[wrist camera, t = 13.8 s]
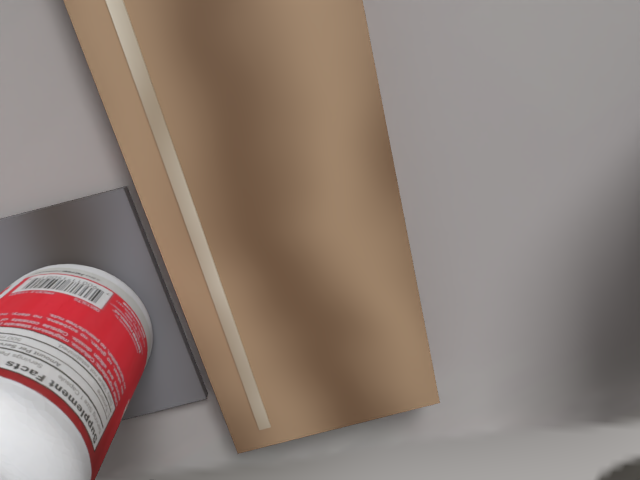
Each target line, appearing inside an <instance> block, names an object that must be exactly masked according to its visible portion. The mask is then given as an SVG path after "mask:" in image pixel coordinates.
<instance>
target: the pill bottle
mask: <svg viewBox="0 0 640 480" xmlns="http://www.w3.org/2000/svg"><path fill="white" fill-rule="evenodd" d="M152 343H153V331H152V324H151V321H150V317H149V314H148V312H147V310H146V308H145V306H144V304H143V303H142V301H141V300H140V298H139V297H138V296H137V295H136V294H135V292H134V291H133V290H132V289H131V288H130V287H128V286H127V285H126V284H125V283H124V282H122V281H121V280H119V279H118V278H116V277H115V276H113V275H111V274H109V273H107V272H105V271H103V270H100V269H97V268H93V267H89V266H84V265H76V264H58V265H51V266H46V267H43V268H40V269H37V270H34V271H32V272H30V273H28V274H26V275H24V276H22V277H21V278H19V279H18V280H16V281H15V282H13V283H12V284H11V285H9V286H8V287H7V288H6V289H4V290H3V291H2V292H1V293H0V480H95V478H96V476H97V473H98V471H99V469H100V467H101V464H102V462H103V460H104V458H105V455H106V453H107V451H108V449H109V446H110V444H111V442H112V440H113V438H114V435H115V433H116V431H117V429H118V427H119V424H120V422H121V419H122V417H123V415H124V413H125V411H126V409H127V406H128V404H129V402H130V400H131V398H132V395H133V393H134V391H135V389H136V387H137V384H138V382H139V380H140V378H141V376H142V373H143V371H144V369H145V367H146V364H147V362H148V359H149V357H150V354H151V349H152Z"/></svg>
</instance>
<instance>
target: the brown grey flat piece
mask: <svg viewBox="0 0 640 480" xmlns="http://www.w3.org/2000/svg"><path fill="white" fill-rule="evenodd" d="M63 1H64V3H65V6H66V9H67V11H68V14H69V16H70V19H71V22H72V24H73V27H74V29H75V32H76V35H77V37H78V40H79V42H80V45H81V48H82V50H83V53H84V55H85V58H86V61H87V63H88V66H89V68H90V71H91V73H92V76H93V79H94V81H95V84H96V86H97V89H98V92H99V94H100V97H101V99H102V102H103V105H104V107H105V110H106V112H107V115H108V118H109V120H110V123H111V125H112V128H113V131H114V133H115V136H116V138H117V141H118V144H119V146H120V149H121V151H122V154H123V157H124V159H125V162H126V164H127V167H128V170H129V172H130V175H131V177H132V180H133V183H134V185H135V188H136V190H137V193H138V195H139V198H140V201H141V203H142V206H143V208H144V211H145V214H146V216H147V219H148V221H149V224H150V227H151V229H152V232H153V234H154V237H155V240H156V242H157V245H158V247H159V250H160V253H161V255H162V258H163V260H164V263H165V266H166V268H167V271H168V273H169V276H170V279H171V281H172V284H173V286H174V289H175V292H176V294H177V297H178V299H179V302H180V304H181V307H182V310H183V312H184V315H185V317H186V320H187V323H188V325H189V328H190V330H191V333H192V336H193V338H194V341H195V343H196V346H197V349H198V351H199V354H200V356H201V359H202V362H203V364H204V367H205V369H206V372H207V375H208V377H209V380H210V382H211V385H212V388H213V390H214V393H215V395H216V398H217V401H218V403H219V406H220V408H221V411H222V413H223V416H224V419H225V421H226V424H227V426H228V429H229V432H230V434H231V437H232V439H233V442H234V445H235V447H236V450H237V452H238V454H239V453H243V452H246V451H250V450H254V449H258V448H262V447H266V446H270V445H274V444H278V443H282V442H286V441H290V440H294V439H298V438H302V437H306V436H310V435H314V434H318V433H322V432H326V431H330V430H334V429H338V428H342V427H346V426H350V425H354V424H358V423H362V422H366V421H370V420H374V419H378V418H382V417H385V416H389V415H393V414H397V413H401V412H405V411H409V410H413V409H417V408H421V407H425V406H429V405H433V404H437V403H440V401H439V396H438V391H437V386H436V381H435V375H434V370H433V365H432V360H431V355H430V349H429V344H428V339H427V334H426V329H425V323H424V318H423V313H422V308H421V303H420V297H419V292H418V287H417V282H416V277H415V271H414V266H413V261H412V256H411V251H410V245H409V240H408V235H407V230H406V225H405V219H404V214H403V209H402V204H401V199H400V193H399V188H398V183H397V178H396V173H395V167H394V162H393V157H392V152H391V147H390V141H389V136H388V131H387V126H386V121H385V115H384V110H383V105H382V100H381V95H380V89H379V84H378V79H377V74H376V69H375V63H374V58H373V53H372V48H371V43H370V37H369V32H368V27H367V22H366V17H365V11H364V6H363V1H362V0H63ZM58 264H76V265H84V266H89V267H93V268H97V269H100V270H103V271H105V272H107V273H109V274H111V275H113V276H115V277H116V278H118V279H119V280H121V281H122V282H124V283H125V284H126V285H127V286H128V287H130V288H131V289H132V290H133V291H134V292H135V294H136V295H137V296H138V297H139V298H140V300H141V301H142V303H143V304H144V306H145V308H146V310H147V312H148V314H149V317H150V321H151V324H152V331H153V343H152V349H151V354H150V357H149V359H148V362H147V364H146V367H145V369H144V371H143V373H142V376H141V378H140V380H139V382H138V384H137V387H136V389H135V391H134V393H133V395H132V398H131V400H130V402H129V404H128V406H127V409H126V411H125V413H124V415H123V417H122V419H121V420H125V419H129V418H133V417H136V416H140V415H144V414H148V413H152V412H156V411H160V410H164V409H168V408H172V407H176V406H180V405H184V404H188V403H192V402H196V401H200V400H204V399H207V394H208V393H207V390H206V388H205V385H204V382H203V380H202V377H201V375H200V372H199V370H198V367H197V365H196V362H195V359H194V357H193V354H192V352H191V349H190V347H189V344H188V342H187V339H186V336H185V334H184V331H183V329H182V326H181V324H180V321H179V319H178V316H177V313H176V311H175V308H174V306H173V303H172V301H171V298H170V296H169V293H168V290H167V288H166V285H165V283H164V280H163V278H162V275H161V273H160V270H159V267H158V265H157V262H156V260H155V257H154V255H153V252H152V250H151V247H150V244H149V242H148V239H147V237H146V234H145V232H144V229H143V227H142V224H141V221H140V219H139V216H138V214H137V211H136V209H135V206H134V204H133V201H132V198H131V196H130V193H129V191H128V188H127V186H126V187H122V188H118V189H114V190H110V191H106V192H102V193H99V194H95V195H91V196H87V197H83V198H79V199H75V200H71V201H68V202H64V203H60V204H56V205H52V206H48V207H44V208H40V209H37V210H33V211H29V212H25V213H21V214H17V215H13V216H9V217H6V218H2V219H0V293H1V292H2V291H3V290H4V289H6V288H7V287H8V286H9V285H11V284H12V283H13V282H15V281H16V280H18V279H19V278H21V277H22V276H24V275H26V274H28V273H30V272H32V271H34V270H37V269H40V268H43V267H46V266H51V265H58Z"/></svg>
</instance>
